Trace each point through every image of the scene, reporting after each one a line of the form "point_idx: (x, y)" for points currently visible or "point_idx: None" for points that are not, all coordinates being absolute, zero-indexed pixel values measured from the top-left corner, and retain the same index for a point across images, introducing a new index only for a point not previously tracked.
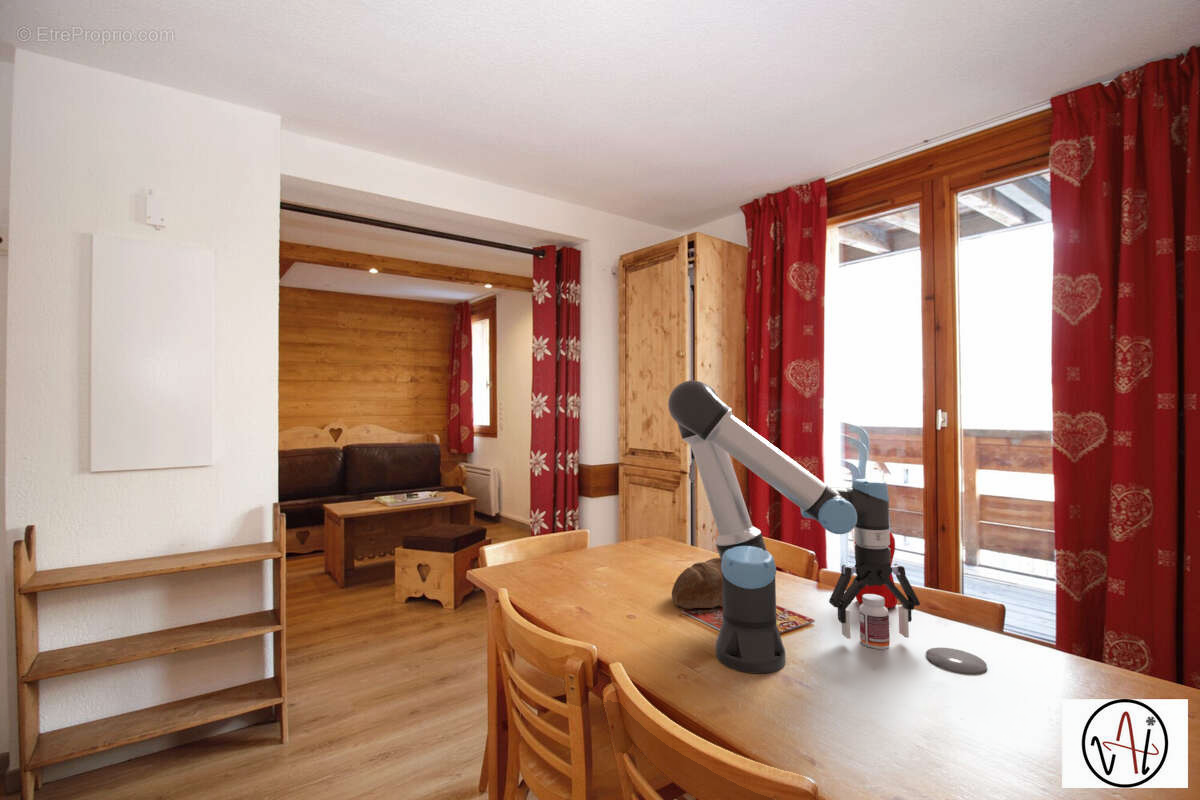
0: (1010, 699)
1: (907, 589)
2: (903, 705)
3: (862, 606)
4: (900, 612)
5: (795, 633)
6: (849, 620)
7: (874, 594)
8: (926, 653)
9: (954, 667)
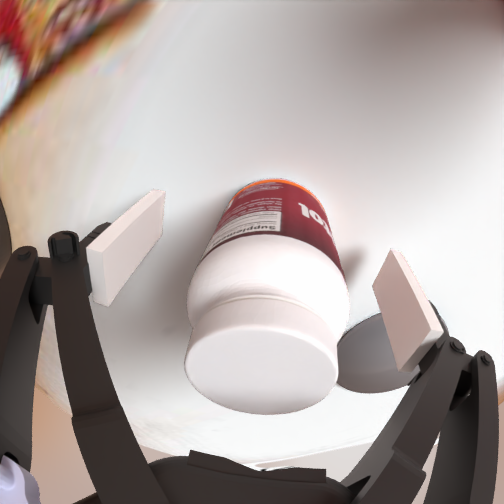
0: (328, 428)
1: (437, 456)
2: (155, 400)
3: (195, 309)
4: (411, 322)
5: (57, 89)
6: (128, 274)
7: (319, 353)
8: (359, 331)
9: (346, 381)
